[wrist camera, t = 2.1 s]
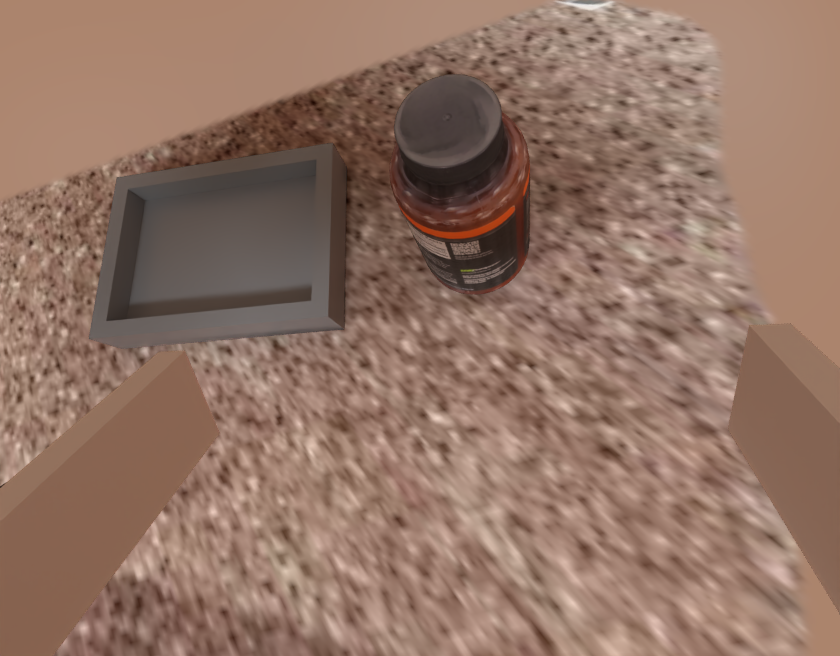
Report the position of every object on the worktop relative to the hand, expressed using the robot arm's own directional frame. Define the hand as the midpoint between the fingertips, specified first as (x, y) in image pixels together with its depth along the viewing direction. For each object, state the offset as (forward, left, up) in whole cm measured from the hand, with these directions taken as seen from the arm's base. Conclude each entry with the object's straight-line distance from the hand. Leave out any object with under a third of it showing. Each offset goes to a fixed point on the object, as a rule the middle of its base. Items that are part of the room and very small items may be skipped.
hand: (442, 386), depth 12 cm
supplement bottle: (-10, +3, -15) cm, 18 cm away
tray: (-16, -11, -14) cm, 24 cm away
